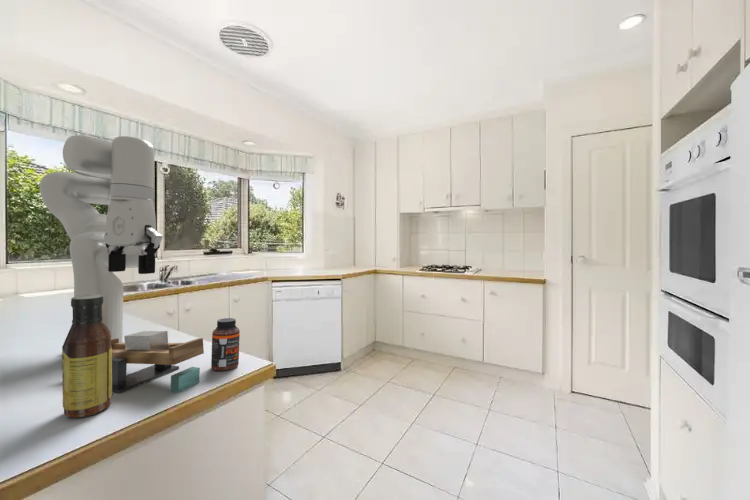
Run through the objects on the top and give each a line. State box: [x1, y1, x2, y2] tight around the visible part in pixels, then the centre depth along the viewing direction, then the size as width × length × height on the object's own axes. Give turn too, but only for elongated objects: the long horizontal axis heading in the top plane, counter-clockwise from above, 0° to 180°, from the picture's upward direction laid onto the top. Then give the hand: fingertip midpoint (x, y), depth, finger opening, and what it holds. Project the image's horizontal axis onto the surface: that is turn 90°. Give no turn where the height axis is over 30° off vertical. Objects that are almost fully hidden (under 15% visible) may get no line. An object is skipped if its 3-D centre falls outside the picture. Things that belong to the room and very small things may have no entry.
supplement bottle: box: [210, 317, 241, 372], centre depth 74 cm, size 6×6×11 cm
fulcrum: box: [112, 357, 201, 394], centre depth 67 cm, size 26×13×6 cm, turn 74°
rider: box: [123, 330, 169, 351], centre depth 67 cm, size 7×4×4 cm, turn 74°
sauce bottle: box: [61, 295, 113, 419], centre depth 53 cm, size 6×6×20 cm
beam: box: [111, 337, 205, 366], centre depth 67 cm, size 26×8×6 cm, turn 74°
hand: (131, 272), depth 69 cm, fingers open, 9 cm apart
